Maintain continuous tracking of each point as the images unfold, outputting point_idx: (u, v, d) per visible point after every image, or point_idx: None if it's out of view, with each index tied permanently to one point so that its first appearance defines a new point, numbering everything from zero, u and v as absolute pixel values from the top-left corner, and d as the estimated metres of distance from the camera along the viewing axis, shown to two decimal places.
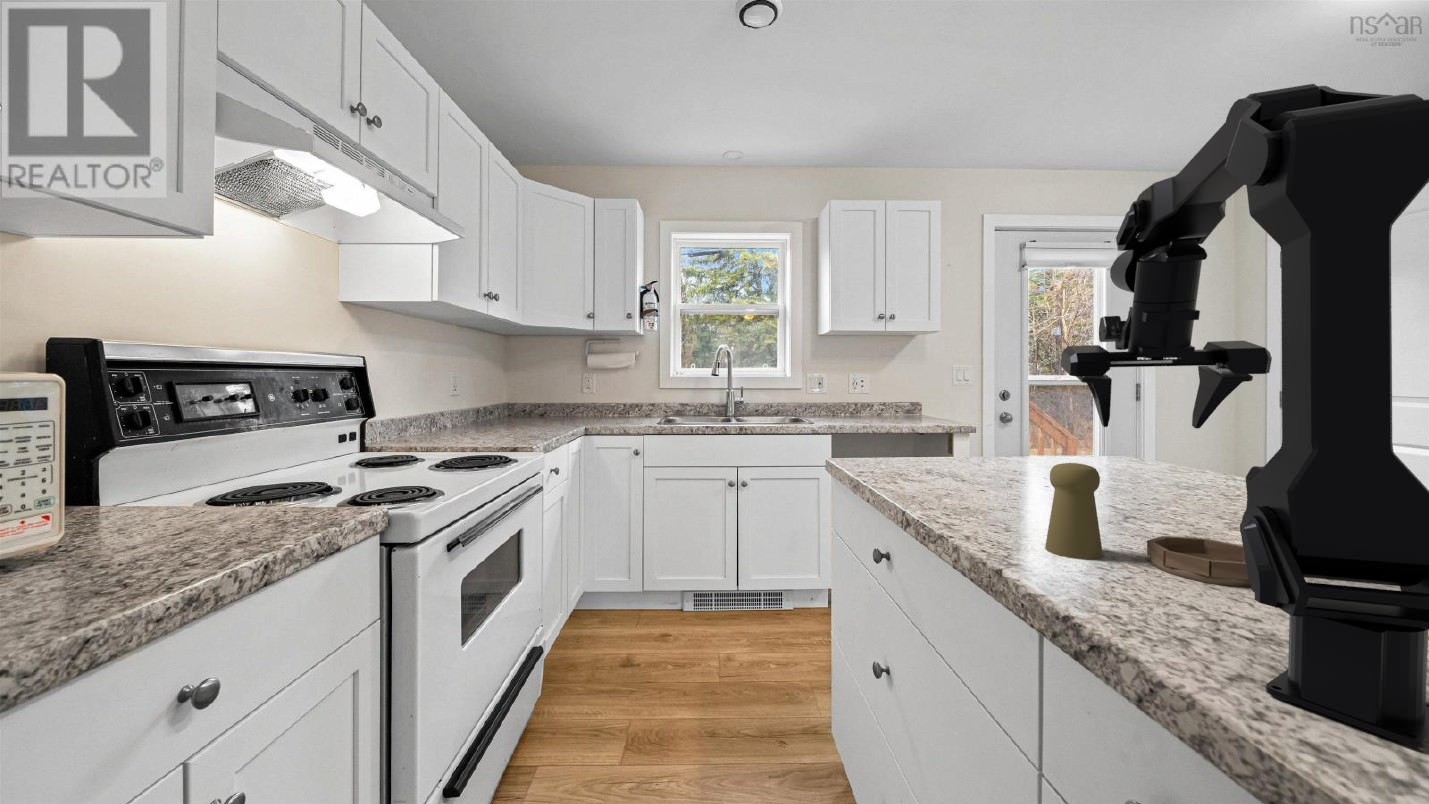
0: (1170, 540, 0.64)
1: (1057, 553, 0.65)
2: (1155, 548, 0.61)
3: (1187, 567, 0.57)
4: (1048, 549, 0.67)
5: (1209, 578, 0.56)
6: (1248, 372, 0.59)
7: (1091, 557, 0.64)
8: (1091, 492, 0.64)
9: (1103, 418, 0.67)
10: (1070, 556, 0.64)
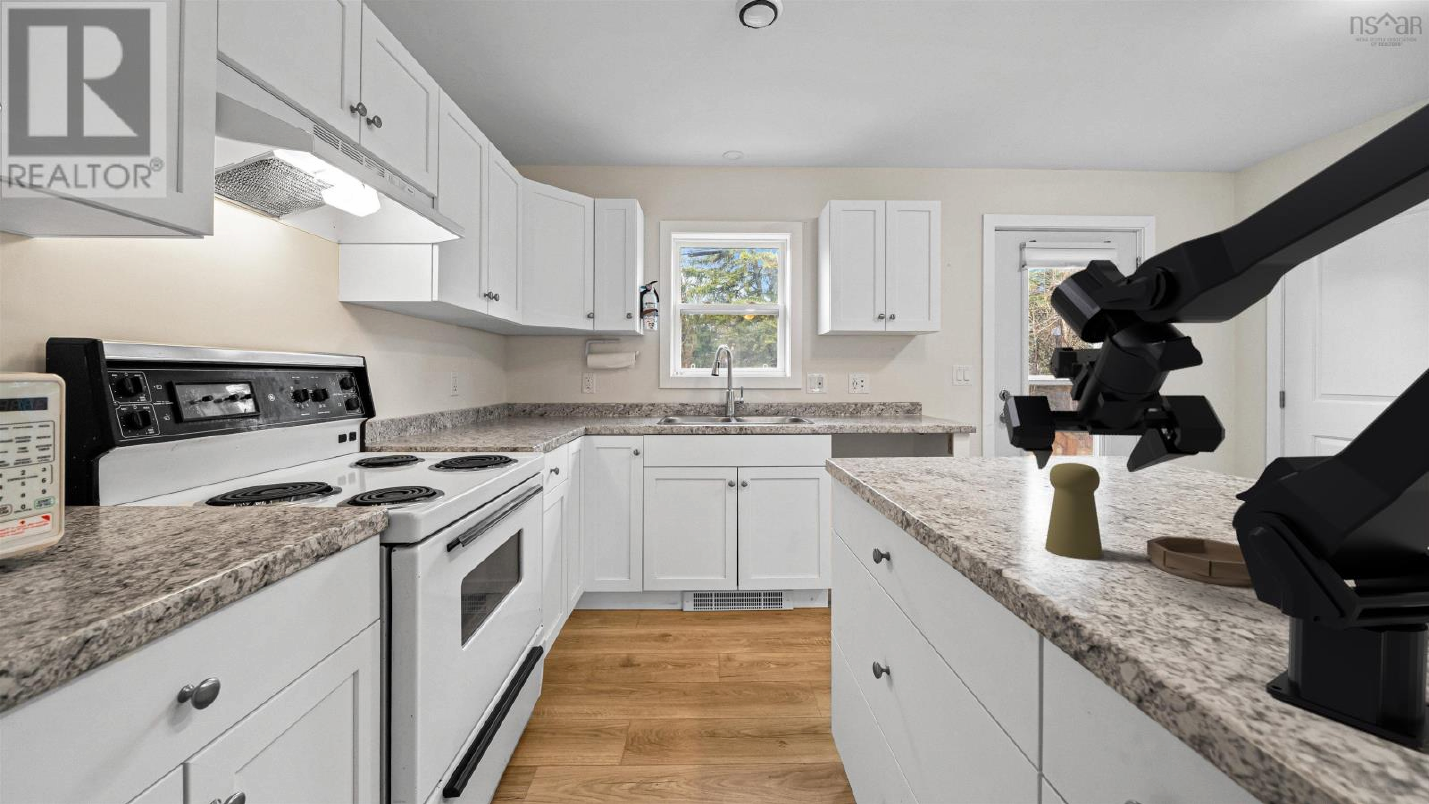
0: (1170, 540, 0.64)
1: (1057, 553, 0.65)
2: (1155, 548, 0.61)
3: (1187, 567, 0.57)
4: (1048, 549, 0.67)
5: (1209, 578, 0.56)
6: (1196, 450, 0.54)
7: (1091, 557, 0.64)
8: (1091, 492, 0.64)
9: (1039, 466, 0.63)
10: (1070, 556, 0.64)
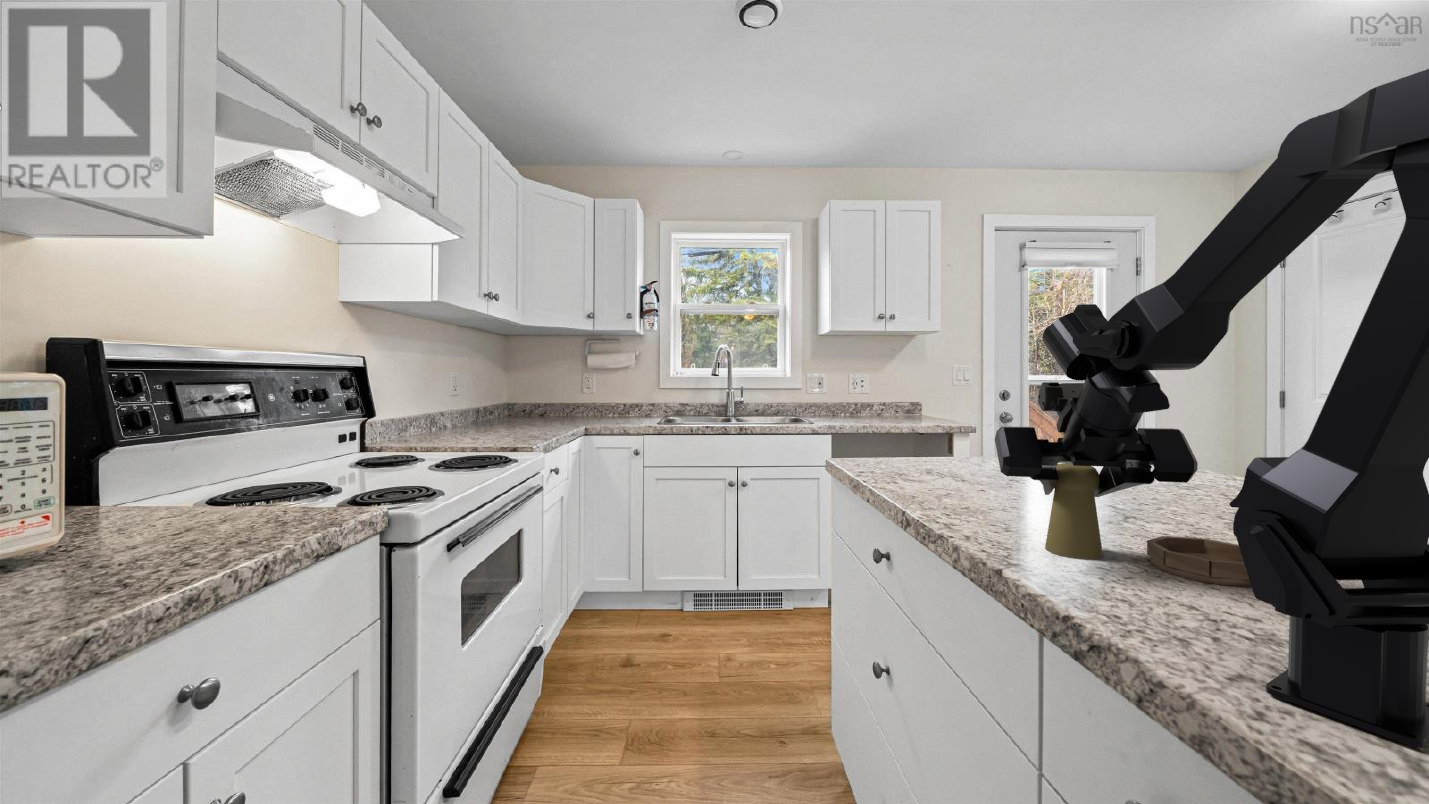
0: (1170, 540, 0.64)
1: (1057, 553, 0.65)
2: (1155, 548, 0.61)
3: (1187, 567, 0.57)
4: (1048, 549, 0.67)
5: (1209, 578, 0.56)
6: (1171, 481, 0.58)
7: (1091, 557, 0.64)
8: (1091, 492, 0.64)
9: (1045, 492, 0.67)
10: (1070, 556, 0.64)
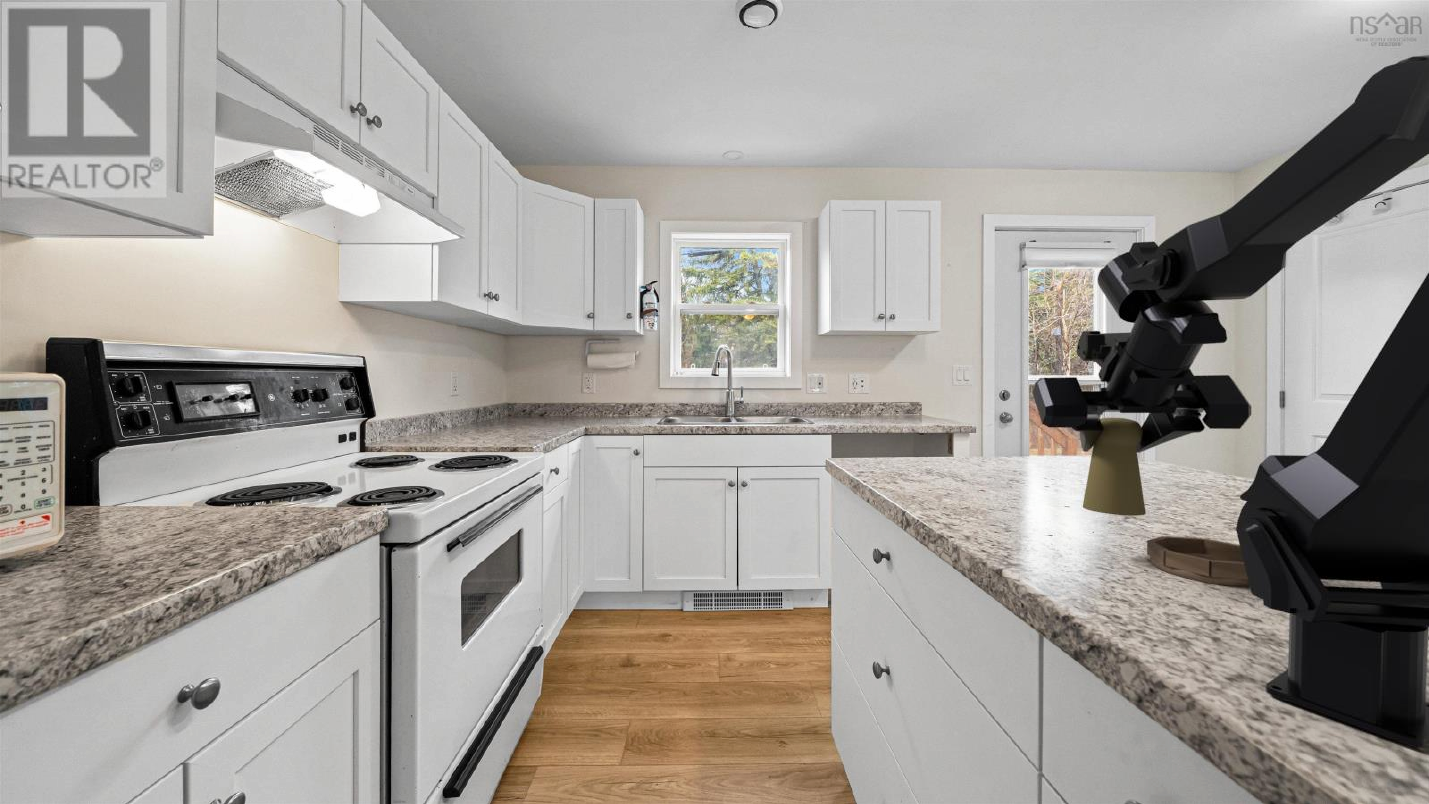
0: (1170, 540, 0.64)
1: (1098, 510, 0.62)
2: (1155, 548, 0.61)
3: (1187, 567, 0.57)
4: (1087, 507, 0.64)
5: (1209, 578, 0.56)
6: (1223, 427, 0.56)
7: (1134, 513, 0.61)
8: (1133, 446, 0.62)
9: (1085, 448, 0.64)
10: (1112, 513, 0.61)
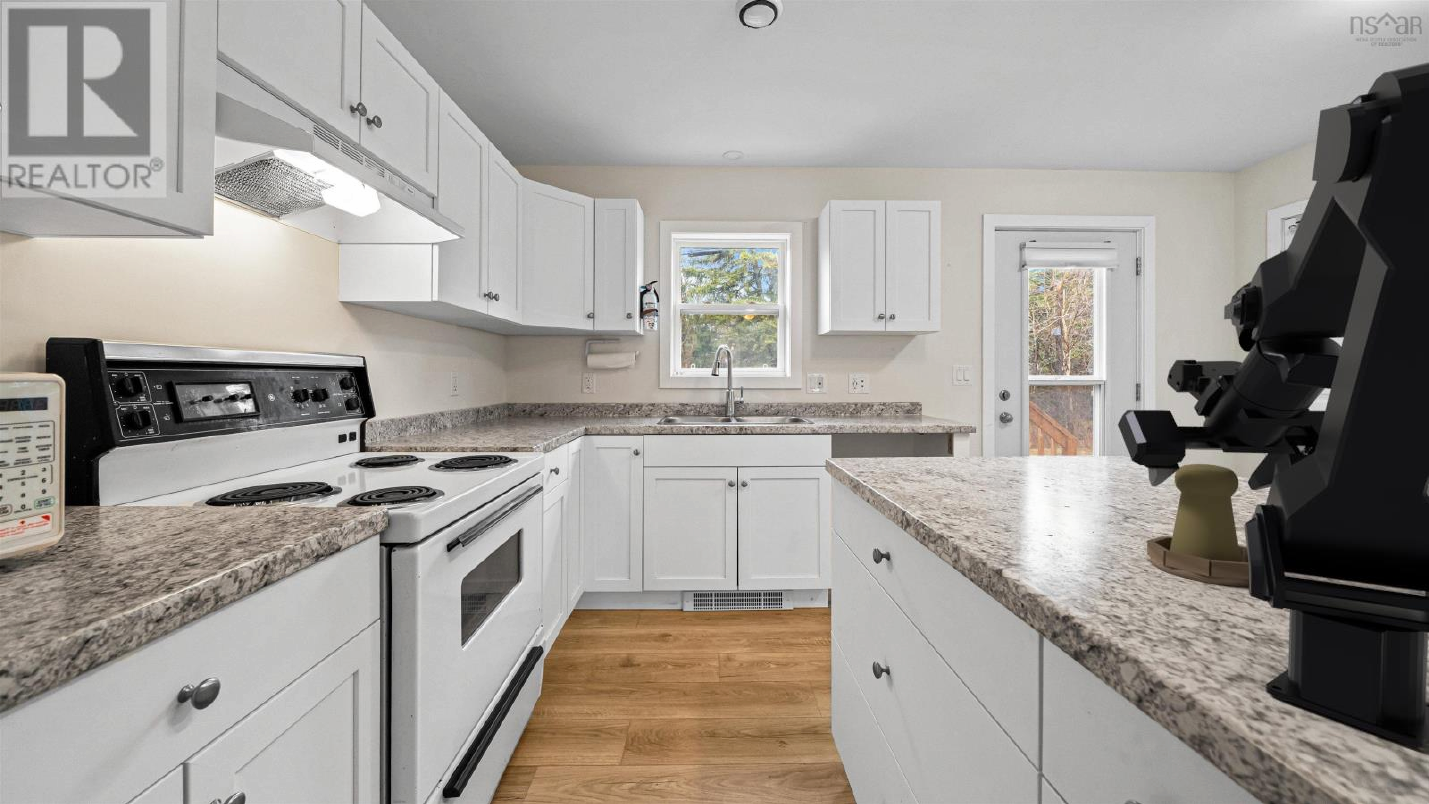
0: (1170, 540, 0.64)
1: None
2: (1155, 548, 0.61)
3: (1187, 567, 0.57)
4: None
5: (1209, 578, 0.56)
6: None
7: None
8: (1229, 497, 0.57)
9: (1154, 483, 0.60)
10: None
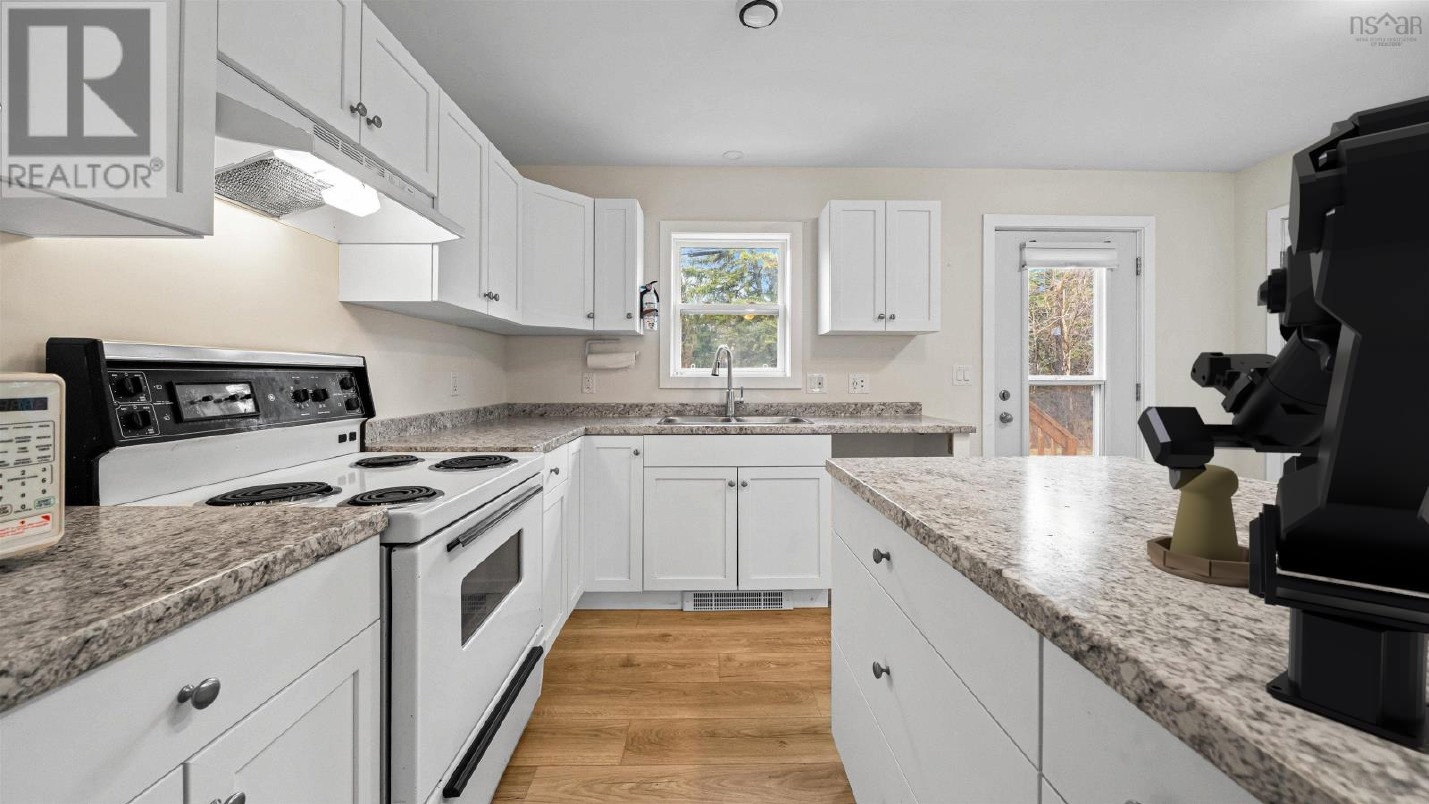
0: (1170, 540, 0.64)
1: None
2: (1155, 548, 0.61)
3: (1187, 567, 0.57)
4: None
5: (1209, 578, 0.56)
6: None
7: None
8: (1229, 497, 0.57)
9: (1176, 486, 0.56)
10: None
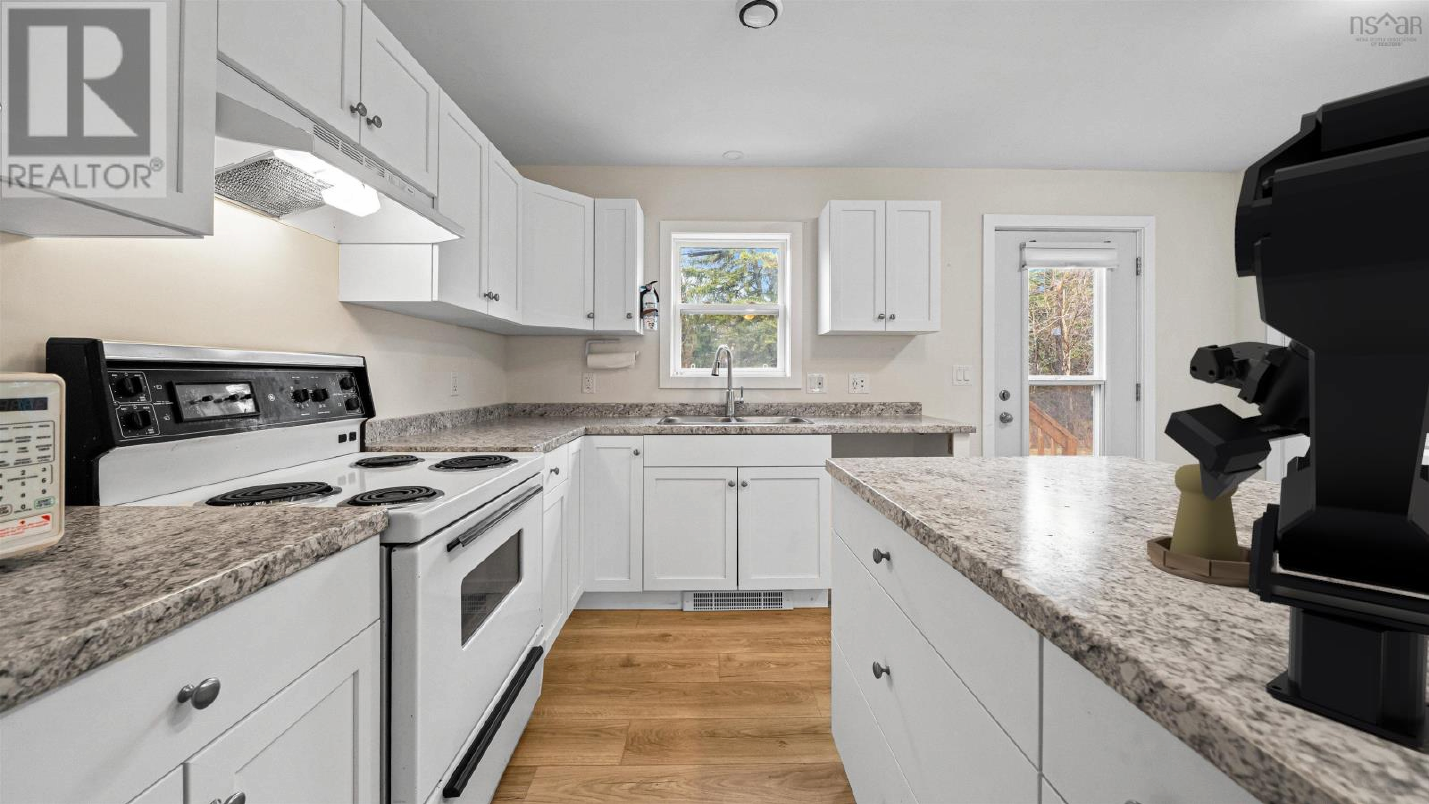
0: (1170, 540, 0.64)
1: None
2: (1155, 548, 0.61)
3: (1187, 567, 0.57)
4: None
5: (1209, 578, 0.56)
6: None
7: None
8: (1229, 497, 0.57)
9: (1218, 495, 0.50)
10: None
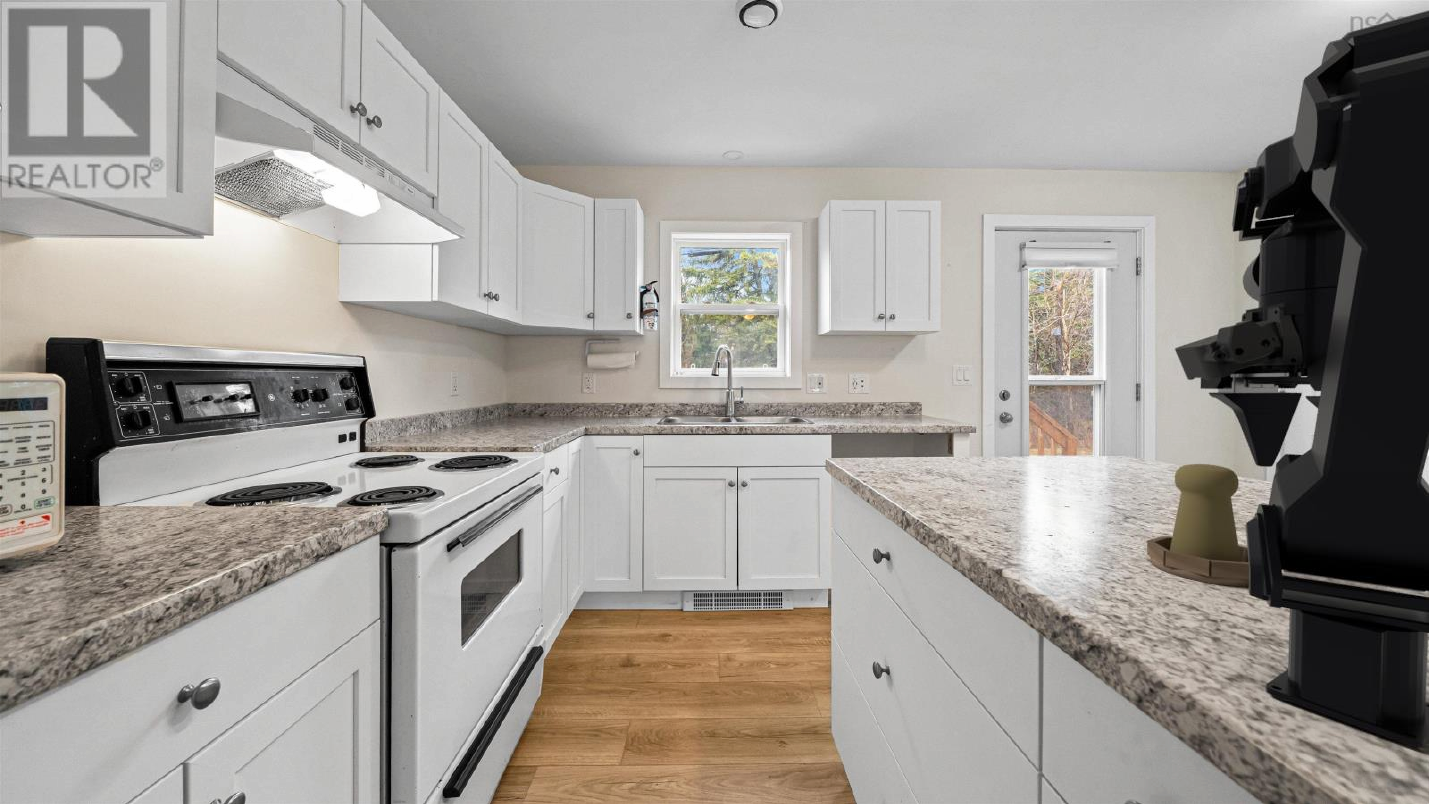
0: (1170, 540, 0.64)
1: None
2: (1155, 548, 0.61)
3: (1187, 567, 0.57)
4: None
5: (1209, 578, 0.56)
6: None
7: None
8: (1229, 497, 0.57)
9: None
10: None
